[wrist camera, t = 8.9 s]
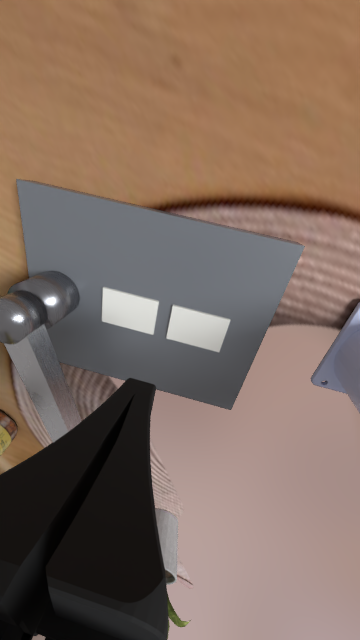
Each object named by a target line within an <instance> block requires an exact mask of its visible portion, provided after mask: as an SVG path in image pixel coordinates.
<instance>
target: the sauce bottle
mask: <svg viewBox="0 0 360 640" xmlns="http://www.w3.org/2000/svg"><path fill="white" fill-rule="evenodd" d="M16 434H17V426H16V424H15V422H14V421H13V420H12V419H10V418H9V417H8V416H7V415H6V414H5V413H3V412H1V411H0V456H1V455H2V453H3V452H4V451H5V450H6V449H7V447H8V446H9V445H10V443H11V442H12V440H13V439H14V438H15V436H16Z"/></svg>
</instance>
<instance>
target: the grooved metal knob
mask: <svg viewBox="0 0 360 640" xmlns="http://www.w3.org/2000/svg"><path fill="white" fill-rule="evenodd" d="M17 290H25V291H28V292H31V293H32V294H34V295H35V296H37V297H38V298H39V299H40V300H41V301H42V303H43V304H44V306H45V308H46V310H47V314H48V318H47V321H46V323H45V324H44V325H45V327H46V329H49V328H50V327H52V326H53V325H55V324H56V323H57V322H59V321H60V320H61V319H63V318H64V317H66V316H67V315H68V314H70V313H71V312H72V311H74V310H75V309H76V308H77V307H78V305H79V302H80V295H79V291H78V288H77V286H76V285H75V283H74V282H73V281H72V280H71V279H70V278H69V277H68V276H67V275H65V274H63V273H61V272H58V271H47V272H44V273H42V274H39V275H37V276H34V277H32V278H29V279H27V280H24V281H22V282H19V283H17V284H14V285H13V286H12V287H11V288H10V289H9V291H8V294H10V293H12V292H14V291H17Z"/></svg>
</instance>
